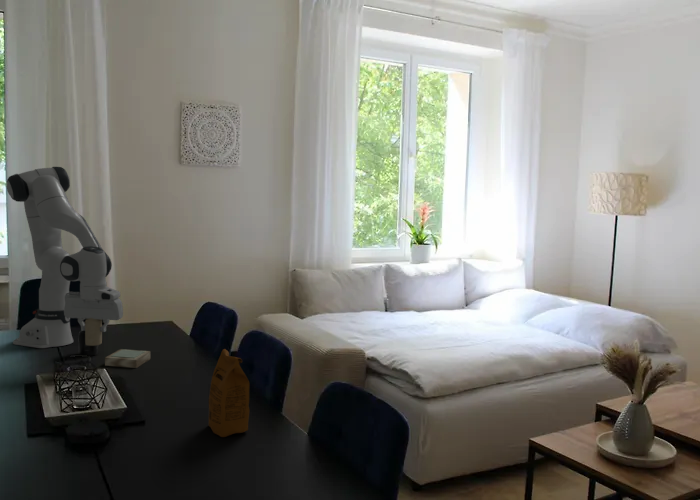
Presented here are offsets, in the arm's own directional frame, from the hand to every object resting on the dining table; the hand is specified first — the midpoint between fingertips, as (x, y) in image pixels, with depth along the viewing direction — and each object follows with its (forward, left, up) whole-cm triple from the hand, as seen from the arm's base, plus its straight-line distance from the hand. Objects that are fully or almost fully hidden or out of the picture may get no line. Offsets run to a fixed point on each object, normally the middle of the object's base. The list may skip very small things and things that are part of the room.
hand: (93, 330), depth 233 cm
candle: (0, 0, -5) cm, 5 cm away
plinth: (+8, +10, -14) cm, 19 cm away
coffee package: (+63, -44, -14) cm, 78 cm away
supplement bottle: (-11, +16, -14) cm, 24 cm away
